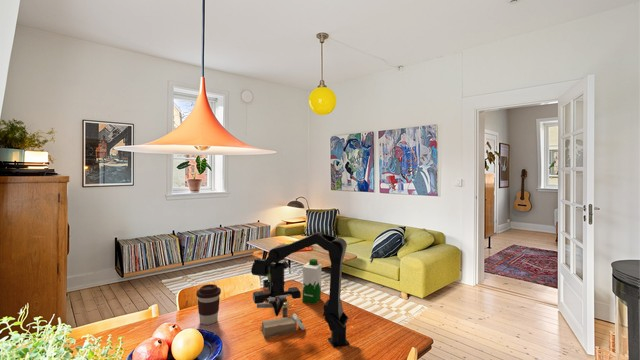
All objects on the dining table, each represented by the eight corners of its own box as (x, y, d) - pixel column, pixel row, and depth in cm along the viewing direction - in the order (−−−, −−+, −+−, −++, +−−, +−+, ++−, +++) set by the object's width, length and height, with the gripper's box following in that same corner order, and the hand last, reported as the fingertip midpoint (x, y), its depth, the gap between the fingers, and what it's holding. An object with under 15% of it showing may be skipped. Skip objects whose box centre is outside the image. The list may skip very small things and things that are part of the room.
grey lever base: (296, 332, 131) (297, 317, 131) (264, 338, 127) (264, 322, 127) (288, 319, 143) (289, 305, 143) (258, 323, 138) (258, 309, 138)
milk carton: (322, 298, 166) (323, 259, 165) (316, 305, 157) (316, 264, 156) (306, 296, 169) (307, 258, 168) (299, 302, 160) (300, 262, 159)
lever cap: (302, 330, 133) (306, 327, 134) (294, 320, 132) (298, 316, 132) (299, 325, 137) (303, 322, 138) (291, 315, 136) (295, 312, 136)
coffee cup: (195, 328, 134) (195, 292, 133) (197, 317, 143) (197, 283, 143) (220, 325, 137) (220, 290, 136) (220, 314, 146) (220, 281, 145)
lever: (289, 304, 143) (289, 301, 143) (289, 308, 139) (289, 304, 139) (257, 305, 142) (257, 301, 142) (256, 308, 138) (256, 305, 138)
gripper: (293, 269, 142) (293, 304, 142) (250, 273, 135) (250, 310, 136) (301, 277, 131) (300, 315, 132) (255, 282, 125) (254, 322, 125)
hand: (276, 315), depth 132 cm, fingers closed
